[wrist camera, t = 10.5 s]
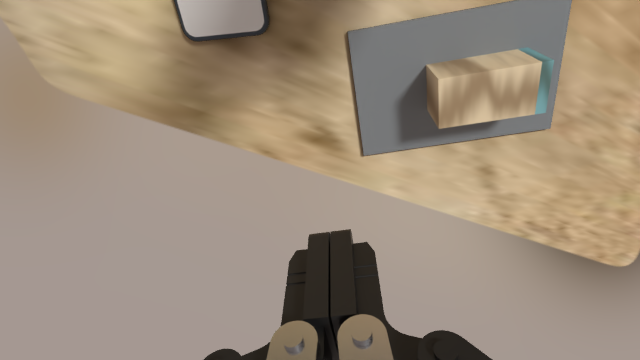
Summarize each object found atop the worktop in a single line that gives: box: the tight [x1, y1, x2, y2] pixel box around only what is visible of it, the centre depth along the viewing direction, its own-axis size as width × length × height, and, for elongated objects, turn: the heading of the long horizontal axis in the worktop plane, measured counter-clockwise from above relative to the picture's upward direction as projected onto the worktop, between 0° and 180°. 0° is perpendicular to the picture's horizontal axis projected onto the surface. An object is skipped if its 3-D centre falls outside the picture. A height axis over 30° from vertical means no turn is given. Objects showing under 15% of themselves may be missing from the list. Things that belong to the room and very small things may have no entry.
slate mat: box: [347, 0, 572, 156], centre depth 39 cm, size 14×21×1 cm, turn 100°
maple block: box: [426, 47, 554, 129], centre depth 36 cm, size 5×5×10 cm
